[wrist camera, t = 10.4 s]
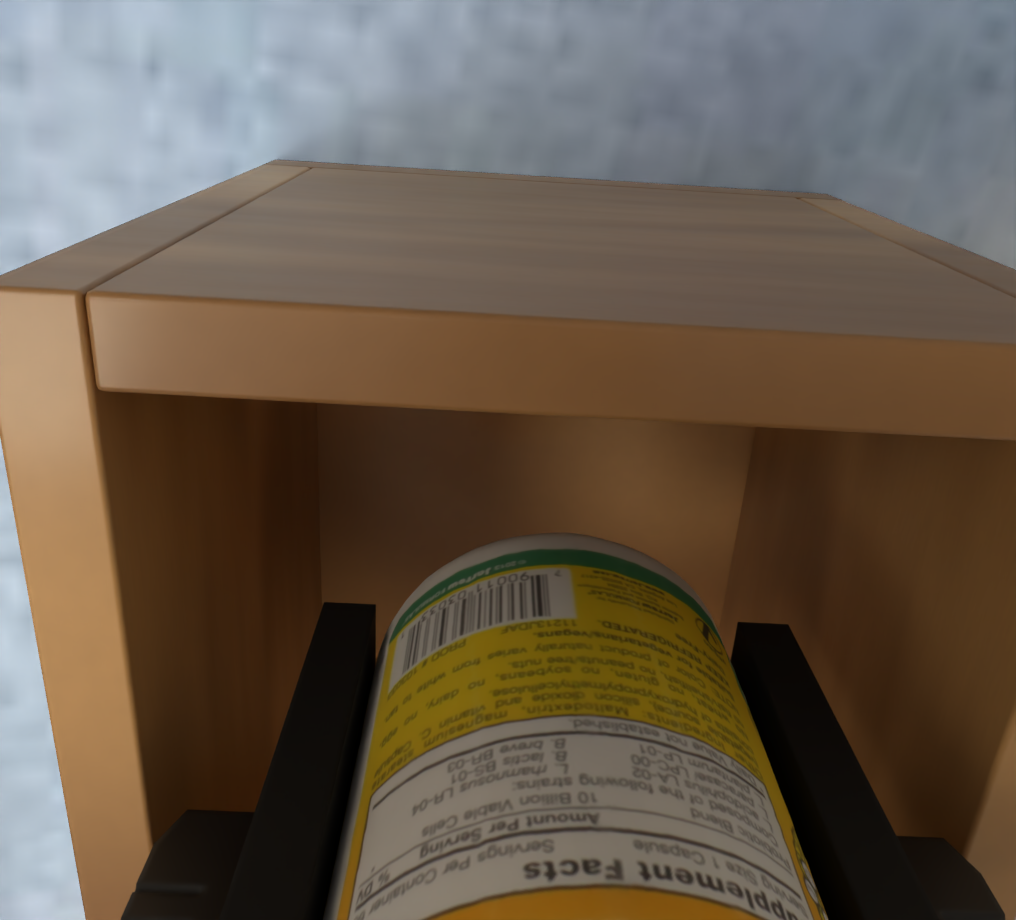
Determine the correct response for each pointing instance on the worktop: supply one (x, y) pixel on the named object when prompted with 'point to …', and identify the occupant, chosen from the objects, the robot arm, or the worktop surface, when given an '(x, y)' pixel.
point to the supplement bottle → (562, 753)
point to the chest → (506, 460)
